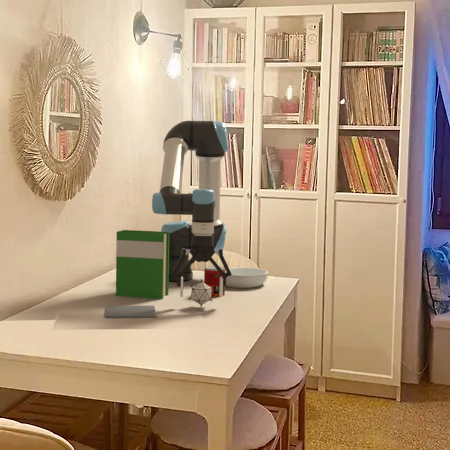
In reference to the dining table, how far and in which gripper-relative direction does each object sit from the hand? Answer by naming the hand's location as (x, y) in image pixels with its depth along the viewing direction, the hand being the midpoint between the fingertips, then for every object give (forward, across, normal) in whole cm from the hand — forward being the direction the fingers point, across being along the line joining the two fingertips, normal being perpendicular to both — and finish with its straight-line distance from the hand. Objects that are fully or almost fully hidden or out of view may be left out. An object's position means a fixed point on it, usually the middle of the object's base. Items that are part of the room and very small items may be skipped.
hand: (201, 296), depth 244 cm
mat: (+4, -24, -7) cm, 25 cm away
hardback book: (+4, -20, +20) cm, 28 cm away
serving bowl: (+4, +20, +38) cm, 43 cm away
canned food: (+4, +7, +20) cm, 22 cm away
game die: (+4, 0, 0) cm, 4 cm away
